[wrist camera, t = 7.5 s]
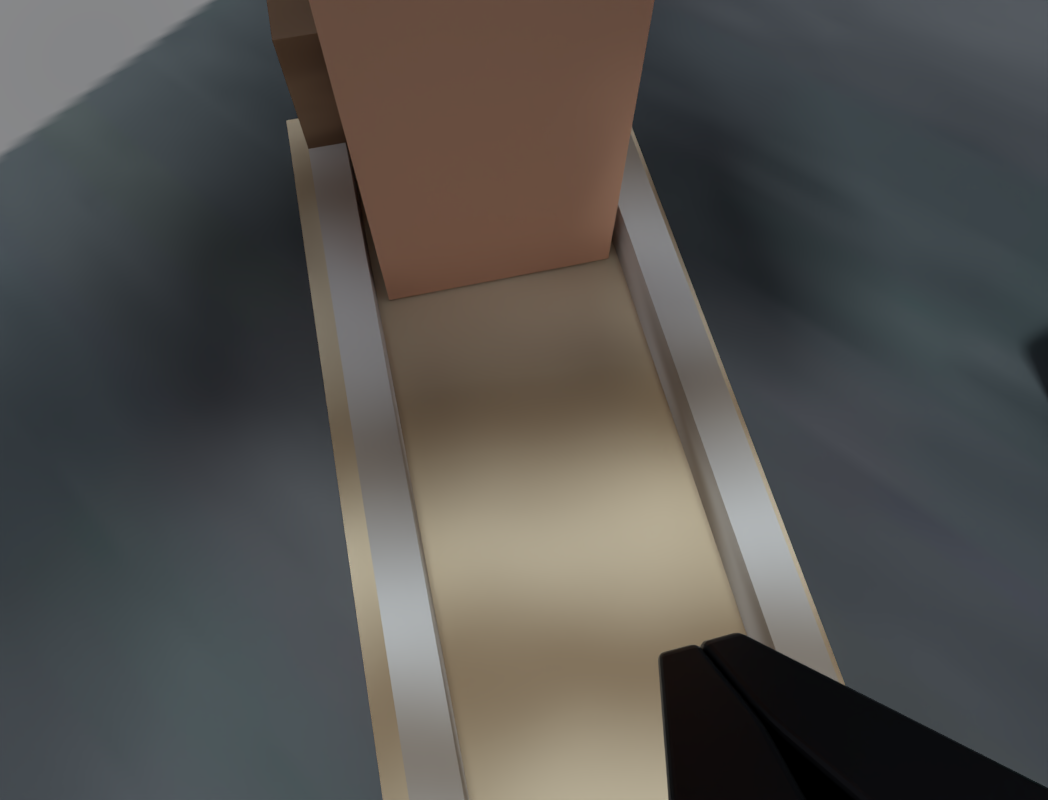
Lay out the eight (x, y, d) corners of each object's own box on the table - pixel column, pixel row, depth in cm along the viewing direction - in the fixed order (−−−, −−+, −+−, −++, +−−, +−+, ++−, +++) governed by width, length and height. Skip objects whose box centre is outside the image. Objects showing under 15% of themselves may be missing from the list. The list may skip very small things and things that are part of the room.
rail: (899, 903, 17) (1107, 975, 11) (429, 1040, 16) (376, 1202, 10) (604, 103, 26) (629, -91, 20) (298, 155, 25) (232, -34, 19)
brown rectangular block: (608, 258, 22) (674, -113, 13) (389, 300, 21) (293, -59, 12) (571, 147, 23) (606, -251, 14) (367, 183, 23) (267, -210, 14)
